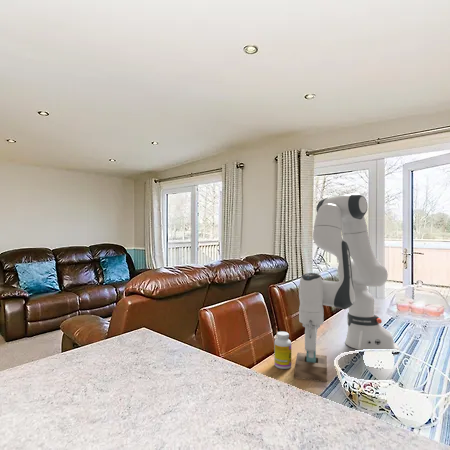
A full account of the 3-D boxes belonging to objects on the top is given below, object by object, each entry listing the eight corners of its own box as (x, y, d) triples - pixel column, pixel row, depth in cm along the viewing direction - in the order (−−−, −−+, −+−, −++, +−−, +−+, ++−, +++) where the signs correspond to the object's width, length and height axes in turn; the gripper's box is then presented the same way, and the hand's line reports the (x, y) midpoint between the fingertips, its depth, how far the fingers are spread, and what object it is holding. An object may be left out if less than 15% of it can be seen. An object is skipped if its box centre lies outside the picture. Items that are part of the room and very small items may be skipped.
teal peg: (315, 372, 119) (315, 340, 119) (315, 376, 116) (315, 343, 116) (307, 371, 120) (306, 339, 120) (306, 374, 117) (306, 342, 117)
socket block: (326, 368, 122) (326, 355, 122) (327, 382, 111) (326, 367, 111) (297, 365, 125) (297, 352, 125) (295, 377, 115) (295, 363, 115)
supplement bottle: (291, 370, 120) (291, 336, 120) (274, 369, 122) (273, 335, 122) (291, 363, 127) (291, 331, 127) (274, 361, 128) (274, 330, 128)
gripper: (319, 326, 107) (319, 367, 107) (320, 311, 127) (320, 345, 127) (300, 324, 109) (300, 364, 109) (304, 309, 129) (304, 343, 129)
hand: (311, 354), depth 118 cm, fingers open, 4 cm apart
